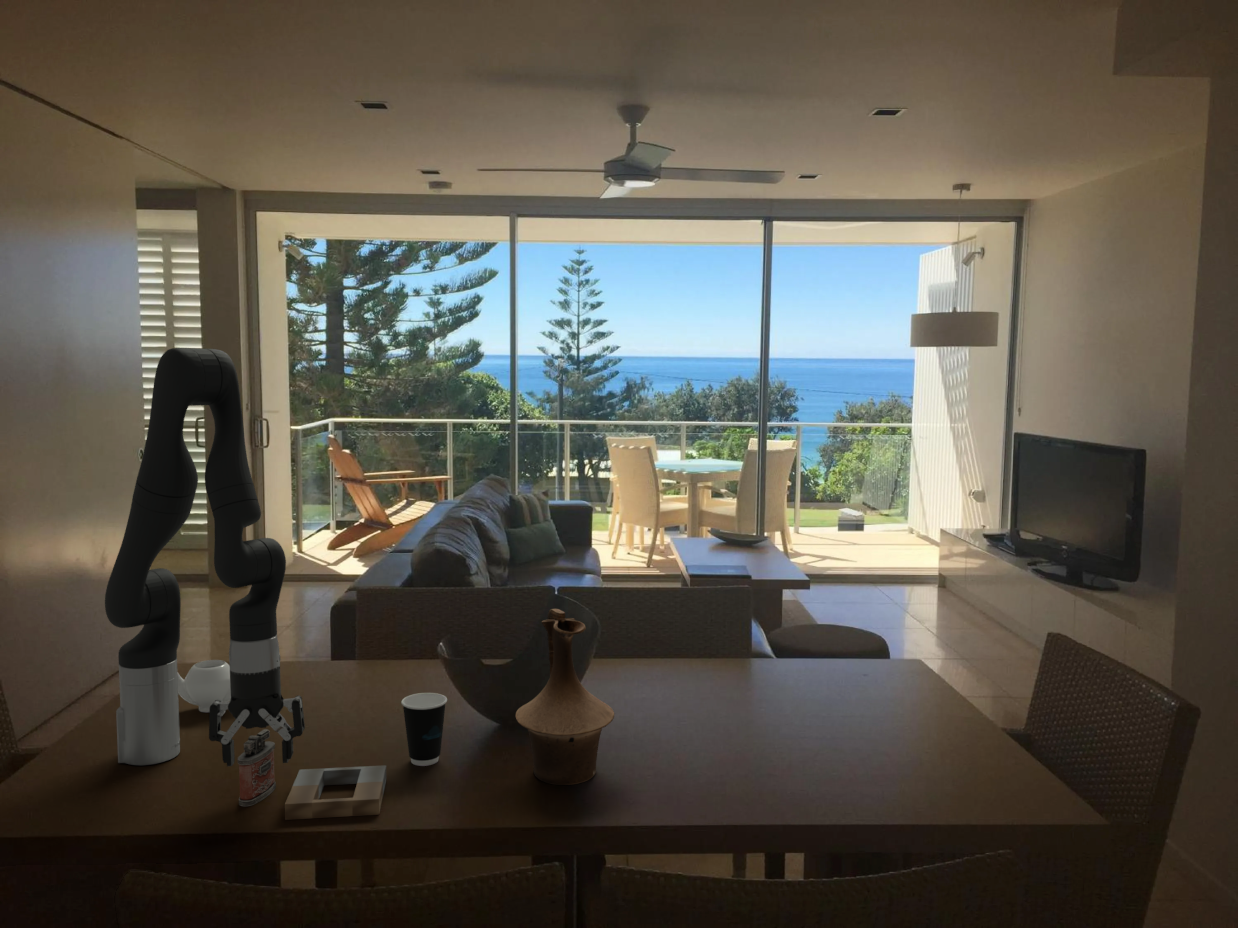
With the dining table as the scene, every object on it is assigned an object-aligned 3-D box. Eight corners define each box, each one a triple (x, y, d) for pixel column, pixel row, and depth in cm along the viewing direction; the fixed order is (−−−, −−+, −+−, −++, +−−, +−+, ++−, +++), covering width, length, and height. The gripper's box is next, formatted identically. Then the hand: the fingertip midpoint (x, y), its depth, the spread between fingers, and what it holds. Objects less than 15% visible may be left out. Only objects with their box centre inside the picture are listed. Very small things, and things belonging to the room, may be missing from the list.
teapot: (168, 701, 200) (167, 657, 199) (268, 699, 202) (267, 655, 201) (150, 718, 190) (149, 672, 189) (255, 715, 192) (254, 670, 191)
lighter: (252, 807, 152) (251, 745, 151) (233, 804, 153) (231, 743, 152) (280, 785, 160) (279, 727, 159) (262, 783, 161) (260, 725, 160)
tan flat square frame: (285, 819, 148) (284, 803, 148) (300, 783, 161) (299, 769, 160) (379, 814, 150) (378, 798, 150) (386, 779, 163) (386, 765, 163)
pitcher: (502, 760, 171) (502, 605, 169) (591, 746, 178) (592, 597, 176) (533, 800, 155) (533, 630, 153) (630, 783, 162) (632, 620, 159)
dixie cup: (436, 771, 166) (436, 709, 165) (394, 766, 168) (393, 705, 167) (454, 753, 174) (454, 694, 173) (413, 749, 176) (413, 690, 175)
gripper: (201, 673, 150) (205, 775, 151) (297, 668, 152) (300, 769, 153) (214, 659, 157) (218, 756, 158) (305, 655, 159) (308, 751, 160)
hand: (258, 762), depth 156 cm, fingers open, 8 cm apart
